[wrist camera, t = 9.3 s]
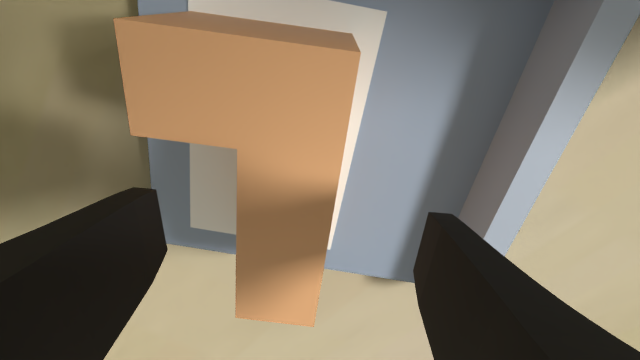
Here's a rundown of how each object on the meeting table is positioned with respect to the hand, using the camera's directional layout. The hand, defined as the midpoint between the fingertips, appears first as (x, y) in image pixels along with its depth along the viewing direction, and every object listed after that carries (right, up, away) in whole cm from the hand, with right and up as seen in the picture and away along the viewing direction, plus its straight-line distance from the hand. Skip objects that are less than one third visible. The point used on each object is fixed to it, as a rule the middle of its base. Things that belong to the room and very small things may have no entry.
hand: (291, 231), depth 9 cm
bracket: (-2, +3, +6) cm, 7 cm away
